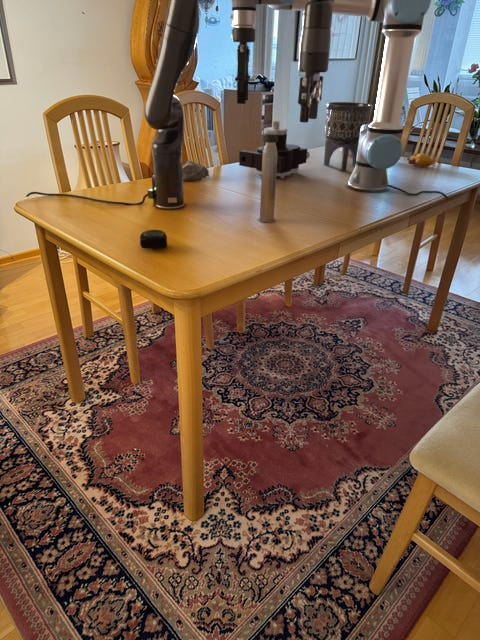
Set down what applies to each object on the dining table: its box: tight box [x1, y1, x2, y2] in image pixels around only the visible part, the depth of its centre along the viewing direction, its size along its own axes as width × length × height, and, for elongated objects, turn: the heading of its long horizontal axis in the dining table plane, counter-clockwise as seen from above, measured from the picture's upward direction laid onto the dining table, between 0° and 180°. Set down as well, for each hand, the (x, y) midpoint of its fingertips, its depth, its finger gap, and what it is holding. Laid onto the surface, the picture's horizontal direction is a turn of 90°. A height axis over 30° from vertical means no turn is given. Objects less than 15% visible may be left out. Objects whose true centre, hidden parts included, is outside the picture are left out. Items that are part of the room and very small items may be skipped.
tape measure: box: [139, 229, 168, 250], centre depth 117 cm, size 7×7×4 cm
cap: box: [262, 132, 278, 143], centre depth 128 cm, size 4×4×2 cm
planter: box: [323, 101, 374, 172], centre depth 204 cm, size 20×20×26 cm
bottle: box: [259, 142, 277, 223], centre depth 134 cm, size 4×4×25 cm
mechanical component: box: [238, 120, 311, 179], centre depth 191 cm, size 22×21×30 cm
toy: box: [406, 152, 435, 169], centre depth 214 cm, size 11×6×15 cm
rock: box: [182, 160, 210, 182], centre depth 182 cm, size 13×9×6 cm, turn 131°
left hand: (308, 120), depth 122 cm, fingers open, 8 cm apart
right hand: (242, 102), depth 154 cm, fingers open, 13 cm apart
